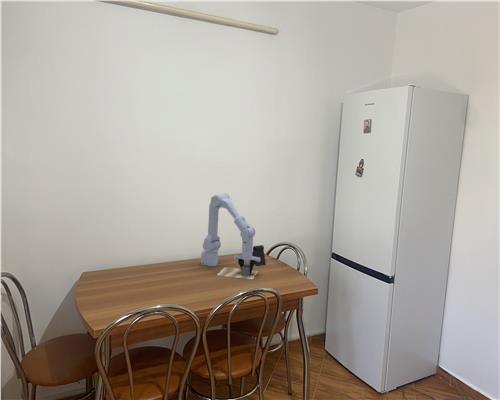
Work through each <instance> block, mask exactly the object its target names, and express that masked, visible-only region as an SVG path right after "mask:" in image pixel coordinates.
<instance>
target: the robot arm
mask: <svg viewBox="0 0 500 400" xmlns="http://www.w3.org/2000/svg"><path fill="white" fill-rule="evenodd" d="M208 206H209V207H208V227H207V236H205V237H204V239H203V240H204V241H203V243H202V248H203V250H202V251H201V254H200V265H202V266H209V267H215V266H217V265H218V264H219V263H218V261H219V260H218V259H219V258H218V257H219V250H220V248H221V245H222V243H221V240H220V239H221V237H220V236H219V235H218V229H219V211H220V209H221V208H223V209H226V210H227V211H228V213H229V214H230V215H231V216H232V217H233V219H234V221H233V223H234V225H235V226H236V227H237V228H238V230H239V231H240V233H239V234H240V237H241V241H242V242H241V243H242V246H241V248H242V249H241V254H235V255H234V256H233V259H234V260H238V261H237V263H238V265H239V267H240V268H239V269H241V268H242V267H243V265H244V264H245V261H249V264H250V274H251V273H252V270H253V269H254V266H255V265H256V263H255V262H256V261H258V262H260V257H255V256H252V252H253V247H254V246H253V245H254V237H255V236H256V235H255V234H256V229H255V227H253V226H251V225H250V224H249V223H248V222H247V220H246V218H245V216H243V215H240V213H239V212H238V210H237V208H236V207H235V205H234V204H233V201H232V197H230V195H229V193H221V194H214V195H213V196H211V197H210V203H209V205H208Z"/></svg>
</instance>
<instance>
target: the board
mask: <svg viewBox="0 0 500 400" xmlns="http://www.w3.org/2000/svg"><path fill="white" fill-rule="evenodd" d="M258 272H259V270H255V269H254V270H253V269H252V273H251V274H250V275H249V276H241V268H235V267H226V266H224V267H223V268H222V269H221V270H220V271H219V272H218V273H217V274H216V275H217V276H221V277H230V278H238V279H245V280H253V279H254V278H255V276H256V275H257V273H258Z"/></svg>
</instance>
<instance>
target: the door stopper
mask: <svg viewBox="0 0 500 400" xmlns="http://www.w3.org/2000/svg"><path fill="white" fill-rule="evenodd" d="M264 251H265V247H264V245H262V244H261V245H254V246H253V251H252V256H255V257H260V262H258V261H256V262H255V266H257V267H263V266H266V265H267V261H266V256H265V252H264Z"/></svg>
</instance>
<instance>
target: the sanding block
mask: <svg viewBox="0 0 500 400" xmlns="http://www.w3.org/2000/svg"><path fill="white" fill-rule="evenodd" d="M240 269H241V276H249V275H250V263H245V262H244V265H243V267H242V268H240Z"/></svg>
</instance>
